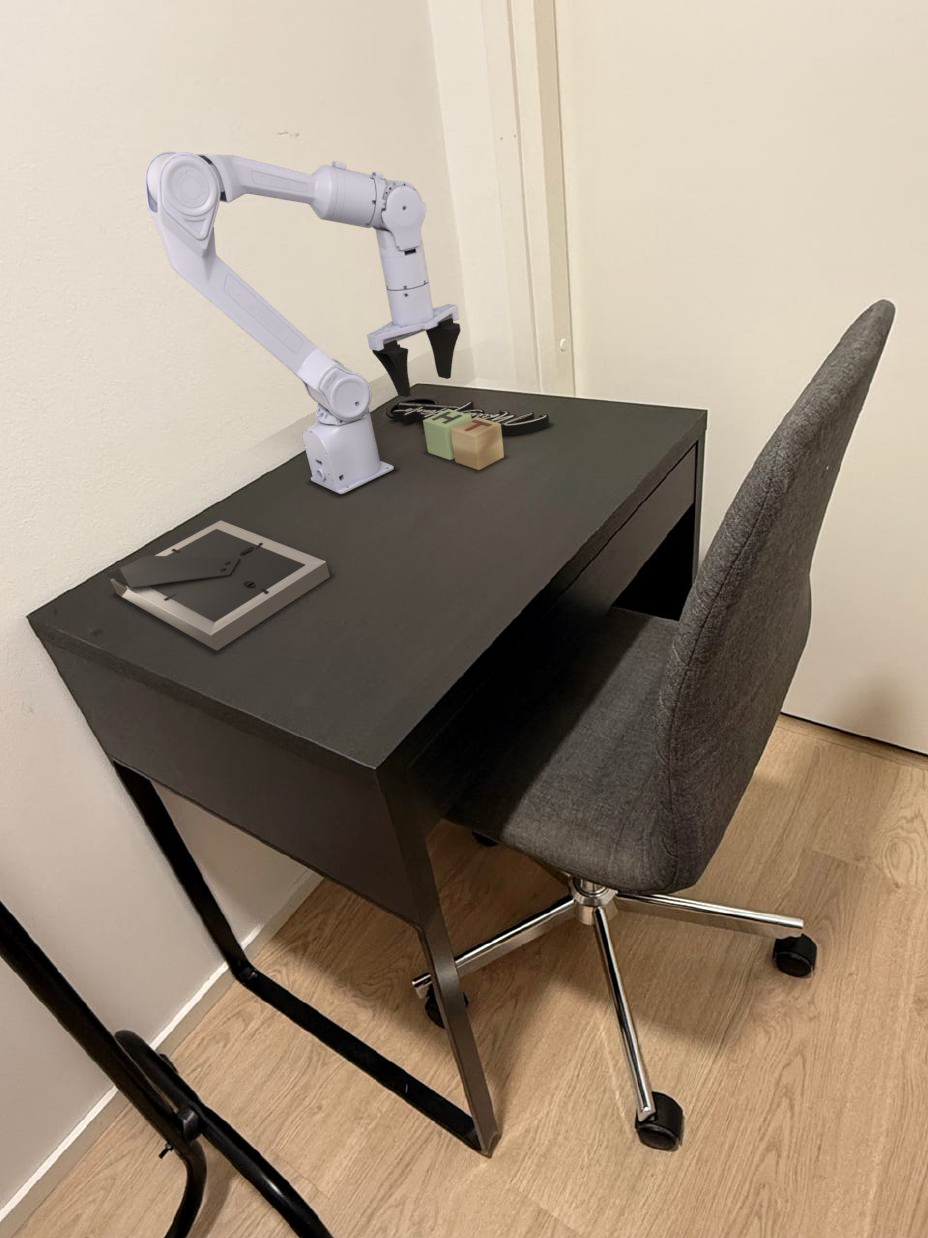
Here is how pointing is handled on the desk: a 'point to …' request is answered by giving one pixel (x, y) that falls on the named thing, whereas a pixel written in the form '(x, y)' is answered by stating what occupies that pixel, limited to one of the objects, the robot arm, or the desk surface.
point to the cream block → (477, 443)
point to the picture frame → (219, 582)
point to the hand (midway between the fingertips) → (424, 385)
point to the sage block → (443, 432)
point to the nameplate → (473, 416)
